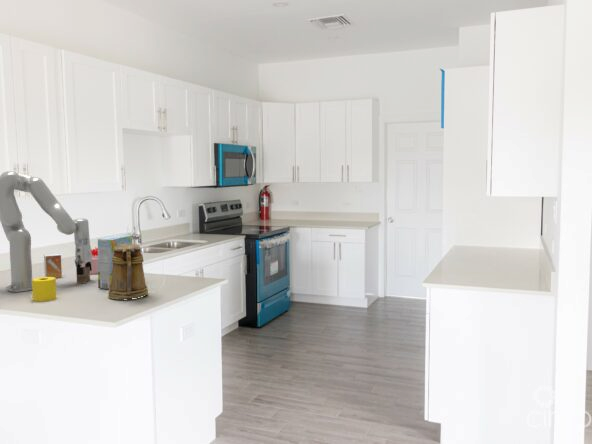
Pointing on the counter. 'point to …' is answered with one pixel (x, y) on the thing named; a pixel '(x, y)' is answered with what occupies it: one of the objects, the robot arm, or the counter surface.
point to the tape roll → (44, 288)
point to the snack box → (108, 257)
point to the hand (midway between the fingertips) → (84, 272)
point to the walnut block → (84, 275)
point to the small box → (53, 265)
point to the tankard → (127, 273)
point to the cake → (93, 261)
